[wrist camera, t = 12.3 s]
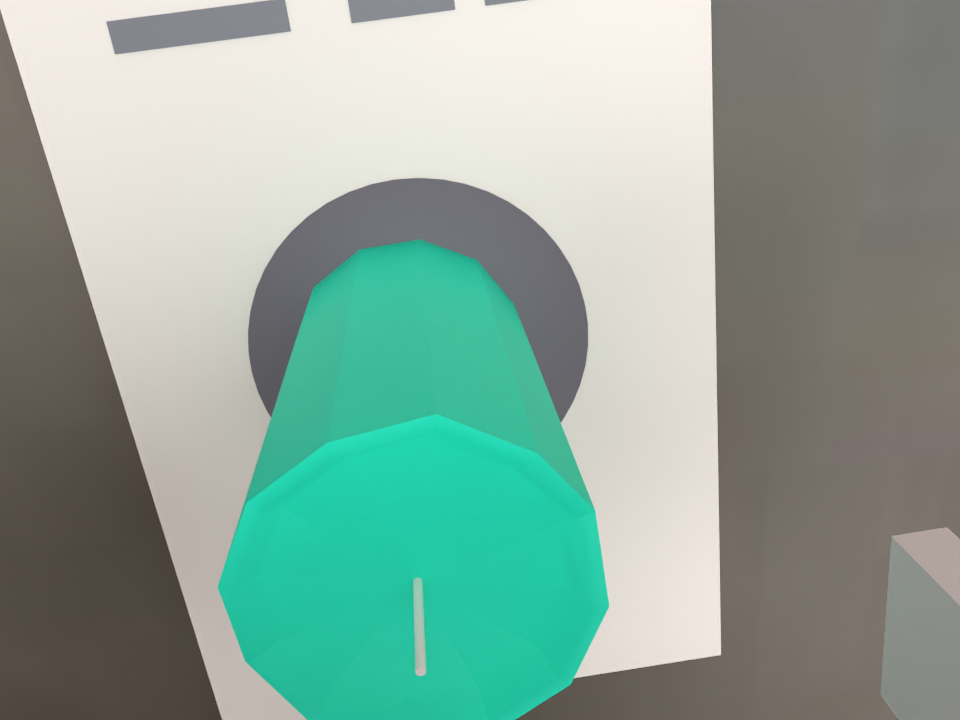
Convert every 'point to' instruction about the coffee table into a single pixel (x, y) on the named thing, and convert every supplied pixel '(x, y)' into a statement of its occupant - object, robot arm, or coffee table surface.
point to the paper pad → (394, 219)
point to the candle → (414, 507)
